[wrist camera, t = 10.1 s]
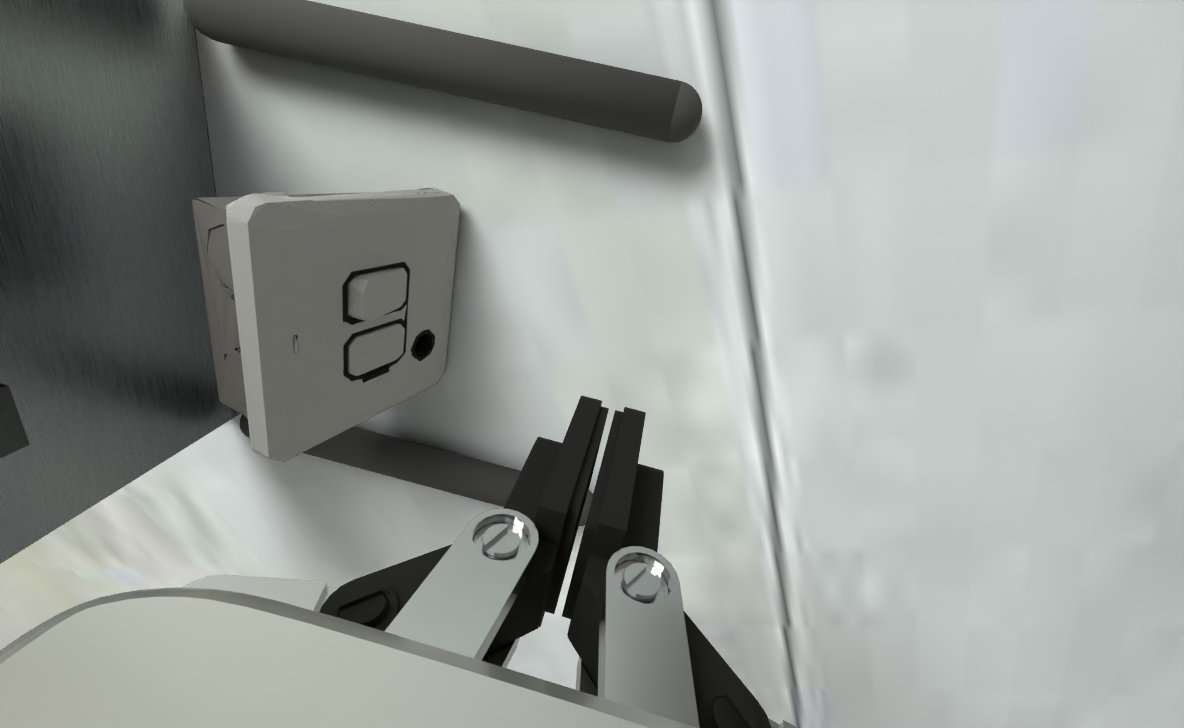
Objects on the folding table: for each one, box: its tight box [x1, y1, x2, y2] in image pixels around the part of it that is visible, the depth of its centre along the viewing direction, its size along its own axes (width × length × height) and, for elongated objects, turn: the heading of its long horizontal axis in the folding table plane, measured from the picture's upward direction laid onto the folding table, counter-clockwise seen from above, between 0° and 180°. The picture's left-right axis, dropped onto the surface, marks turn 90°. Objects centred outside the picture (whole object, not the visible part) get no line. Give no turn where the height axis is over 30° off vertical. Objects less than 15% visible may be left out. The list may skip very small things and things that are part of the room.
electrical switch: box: [192, 188, 460, 462], centre depth 20 cm, size 9×5×9 cm, turn 167°
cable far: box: [240, 414, 593, 526], centre depth 27 cm, size 20×2×2 cm, turn 78°
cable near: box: [183, 0, 702, 142], centre depth 19 cm, size 20×2×2 cm, turn 78°
